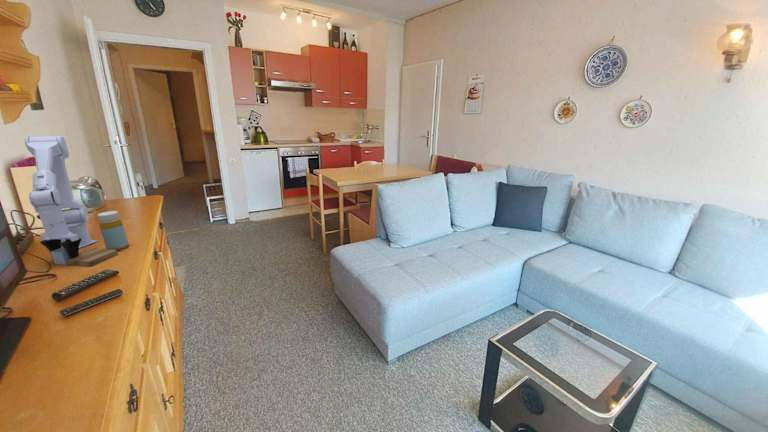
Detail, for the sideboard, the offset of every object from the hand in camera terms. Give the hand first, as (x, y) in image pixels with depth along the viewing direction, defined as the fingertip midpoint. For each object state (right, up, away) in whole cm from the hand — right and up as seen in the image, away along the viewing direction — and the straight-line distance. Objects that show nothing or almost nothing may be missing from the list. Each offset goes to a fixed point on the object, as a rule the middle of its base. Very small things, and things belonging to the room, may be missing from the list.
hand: (67, 257), depth 116 cm
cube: (0, -2, +1) cm, 2 cm away
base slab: (+8, -1, +2) cm, 9 cm away
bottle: (+9, +2, +11) cm, 15 cm away
